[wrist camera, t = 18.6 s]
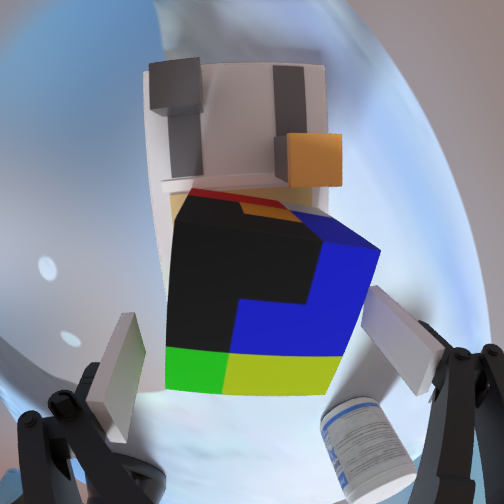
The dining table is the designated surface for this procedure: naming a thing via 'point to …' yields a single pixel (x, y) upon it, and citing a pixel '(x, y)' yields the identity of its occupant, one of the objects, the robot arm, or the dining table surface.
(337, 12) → the dining table surface
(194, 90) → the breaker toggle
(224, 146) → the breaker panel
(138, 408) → the dining table surface
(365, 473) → the supplement tub
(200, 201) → the puzzle toy
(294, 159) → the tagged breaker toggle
